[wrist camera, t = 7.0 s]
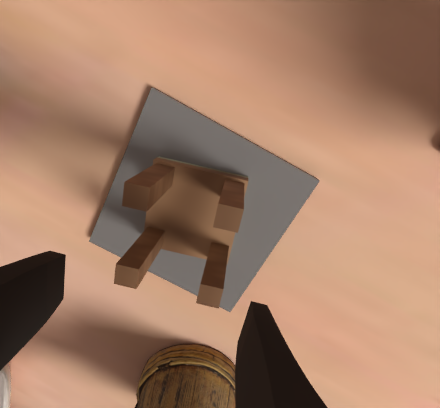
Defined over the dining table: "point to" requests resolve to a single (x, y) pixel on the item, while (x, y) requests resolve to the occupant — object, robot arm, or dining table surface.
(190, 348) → the wooden mug
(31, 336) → the robot arm
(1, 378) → the square plate
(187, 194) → the stool
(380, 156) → the dining table surface
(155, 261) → the mat
